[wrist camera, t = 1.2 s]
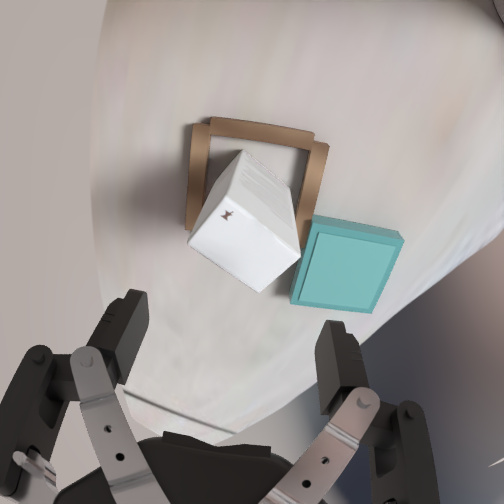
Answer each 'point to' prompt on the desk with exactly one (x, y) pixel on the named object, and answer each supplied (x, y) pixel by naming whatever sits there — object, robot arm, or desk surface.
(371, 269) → the tile
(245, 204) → the skincare box
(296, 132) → the wooden square frame
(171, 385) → the desk surface
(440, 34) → the desk surface
